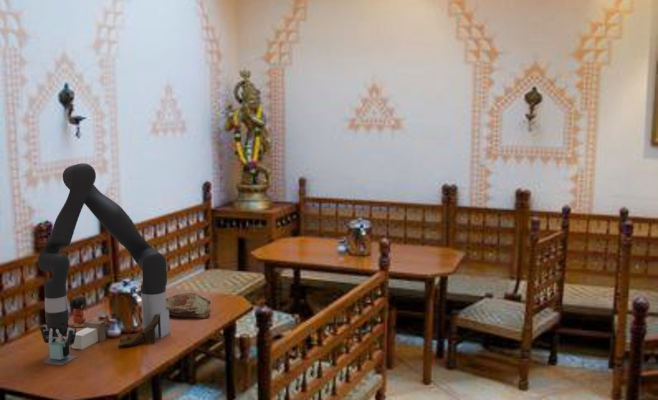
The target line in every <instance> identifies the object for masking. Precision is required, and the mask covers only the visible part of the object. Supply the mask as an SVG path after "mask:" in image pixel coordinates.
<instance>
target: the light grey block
mask: <svg viewBox="0 0 658 400" xmlns="http://www.w3.org/2000/svg"><path fill="white" fill-rule="evenodd" d="M106 339H107V337H106V321H105V320H92V319H87V320H85V322H84V326H83V329H80V330H79V331H76V335H75V340H74V343H73V344H72V345H71V349H77V350H85V349H86V348H88V347H89V346H92V345H93V344H96V343H97V342H100V343H101V342H103V341H105V340H106Z"/></svg>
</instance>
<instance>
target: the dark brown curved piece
mask: <svg viewBox="0 0 658 400" xmlns="http://www.w3.org/2000/svg"><path fill="white" fill-rule="evenodd" d="M158 319H159V316H158V315H156V316H155V318H154V319H153V321H152V323H151V324H149V325H148V326H147V327H146V328H145V329H144V330H143V329H142V330H141V331H140V332H138V333H133V334H130V333H127V334H126V335H125V336H124V337H121V338H120V339H119V343H118V344H117V346H118V347H122V348H123V347H124V348H125V347H131V346H137V345H140V344H142V343H143V342H144V341H150V342H151V343H153V344H155V343H156V342H155V341H156V340H155V339H156V338H154V330H155V328H156V326H157V324H158Z"/></svg>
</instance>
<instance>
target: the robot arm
mask: <svg viewBox="0 0 658 400" xmlns="http://www.w3.org/2000/svg"><path fill="white" fill-rule="evenodd" d="M62 172H63V173H62V181H63V183H64V184H63V185H65V187H66V188H67V189H68V190H69V192H68V195H67V197H66V200H65V202H64V204H63V206H62V207H61V209H60V211H59V213H58V215H57V216H56V219H55V221H54V223H53V226H52V230H51V232H50V236H49V237H48V238H49V239H48V240H47V241H46V242H45V245H44V246H43V248H42V249H41V251H40V253H39V255H38V258H37V266H38V268H39V270H40V271H42V272H45V273H52V277H51V278H49V279H46V280H45V282H44V284H43V288H44V312H45V313H44V314H45V315H44V316H45V323H46V324H45V325H42V326H40V327H39V329H40V333H41V336H42V339H43V342H44V343H45V344H48V345H49V344H51V343H53V342H55V341H57V340H60V341H61V343H62V346H63V357H67V356H68V355H69V353H70V354H71V350H70V351H69V346H72V344H73V343H74V340H75V335H76V333H77V329H76V328H77V327H76V328H75V327H74V328H71V327H70V325H69V319H70V313H69V302H68V301H69V300H68V295H67V285H66V284H67V280H68V275H69V271H70V260H69V257H68V256H67V254H65V253H63V252H60V251H61V250H62V249H63V248H68V247H69V246H70V245H71V242H72V239H73V236H74V233H75V230H76V226H77V223H78V221H79V217H80V215H81V211H82V210H83V208H84V206H86V207H87V208H88V209H89V211H90V212H91V213H92V215H94V217H95V218H96V219H97V220H98V221H99V222H100V224H101V225H102V226H103V228H104V229H105V230H106V231H107V232H108V233H109V234H110V235H111V236H112V237H113V238H114V239H115V240H116V241H117V242H118V243H119V244H120V245H121V246H122V247H124V248H125V249H126V250H127V252H128V254H129V255H130V256H131V257H132V259H133V260H134V261H135V262H136V265H137V266H138V267H139V269H140V270H141V271H142V284H141V285H140V298H141V299H140V300H141V318H142V319H141V321H142V330H144V329H145V328H146V327H147V326H148V325H149V324H151V323H152V321H153V319H154V318H155V316H156V315H158V316H159V319H158V324H157V326H156V328H155V330H154V338H155V339H162V338H164V337H166V336H167V335H169V334H171V331H170V329H171V328H170V324H171V323H170V315H169V310H168V309H167V308H166V299H167V292H166V291H167V288H166V287H167V283H168V271H167V270H168V269H167V268H168V267H167V266H168V265H167V260H166V257H165V256H164V255H163V253H161V252H159V251H158V250H156V249H155V248H154V247H153V246H152V245H150V244H149V243H148V242H147V241H146V239H144V237H143V236H142V235H141V233H140V232H139V229H138V228H137V226H136V224H135V222H134V221H133V219H131V217H130V215H128V214H127V212H126V211H125V210H124V209H123V207H121V206H120V205H119V204H118V203H117V202H115V201H113V200H112V199H111V198H109V197H108V196H107V195H105V194H103V193H102V192H101V190H99V189H98V188H97V187H96V185H95V182H96V177H97V175H96V174H97V173H96V171H95V168H94V167H93V166H92V165H90V164H88V163H83V162H82V163H77V164H73V165H70V166H68V167H66V168H65V169H64V170H63V171H62ZM57 338H58V339H57ZM65 341H66V343H65ZM69 356H70V355H69Z"/></svg>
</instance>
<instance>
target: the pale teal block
mask: <svg viewBox="0 0 658 400" xmlns="http://www.w3.org/2000/svg"><path fill="white" fill-rule="evenodd" d="M65 343H66V341H65ZM48 346H49V347H48V348H49V352H48V353H49V359H50V358H53V359H60V360H61V359H63V358H65V357H63V346H62V343H61V341H60V340H59V339H56V341H55V342H53V343H51V344H48ZM70 346H71V345H70ZM70 346H69V351H70V353H69V356H71V348H70Z"/></svg>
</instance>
